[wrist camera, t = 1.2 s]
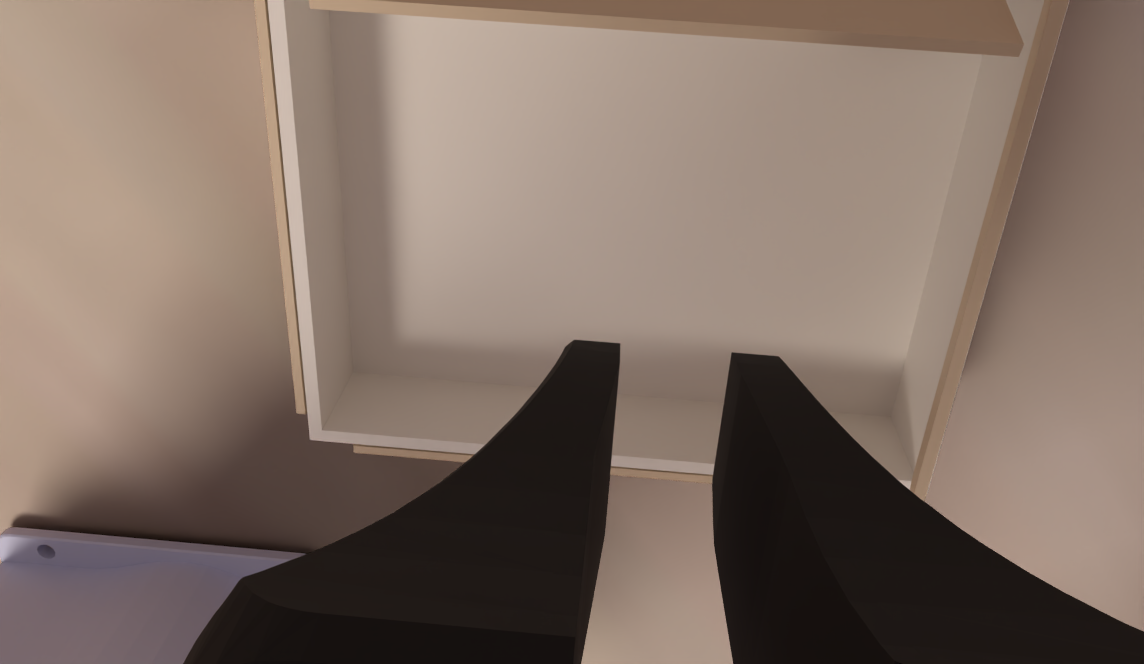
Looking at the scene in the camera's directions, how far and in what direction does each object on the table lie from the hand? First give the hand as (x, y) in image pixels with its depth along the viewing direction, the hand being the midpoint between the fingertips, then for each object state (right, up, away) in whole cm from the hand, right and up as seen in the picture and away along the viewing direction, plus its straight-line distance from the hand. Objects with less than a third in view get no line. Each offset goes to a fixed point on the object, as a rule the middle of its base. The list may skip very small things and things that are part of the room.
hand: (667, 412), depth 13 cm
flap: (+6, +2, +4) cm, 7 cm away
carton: (0, +5, +9) cm, 10 cm away
